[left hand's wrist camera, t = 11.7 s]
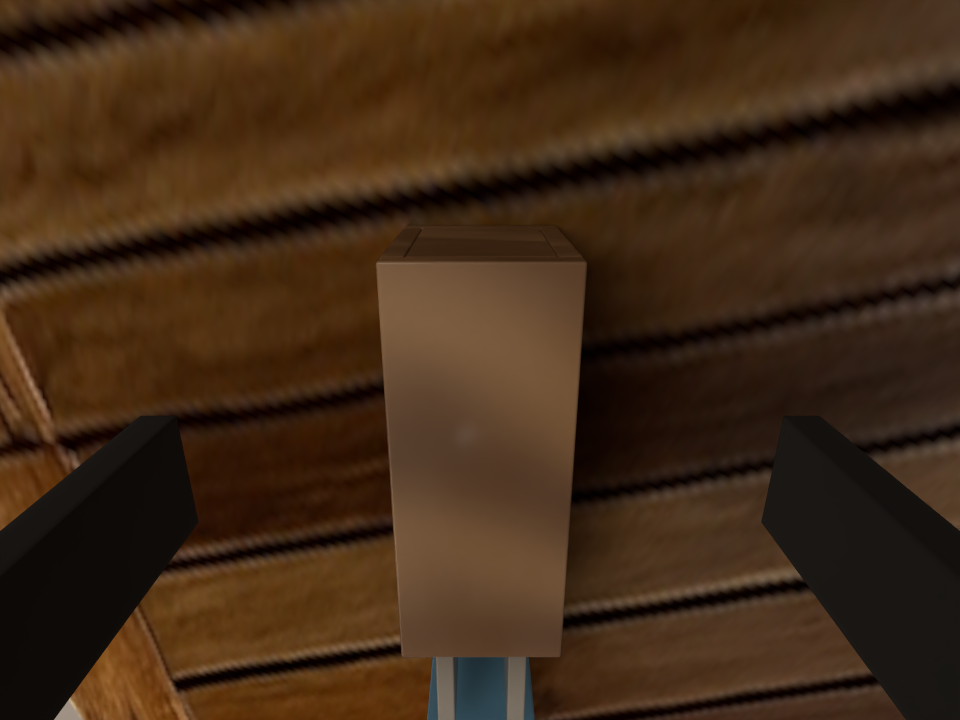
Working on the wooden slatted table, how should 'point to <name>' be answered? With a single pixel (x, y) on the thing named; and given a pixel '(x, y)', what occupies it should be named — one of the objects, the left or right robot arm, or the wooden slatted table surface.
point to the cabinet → (481, 433)
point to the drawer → (480, 689)
